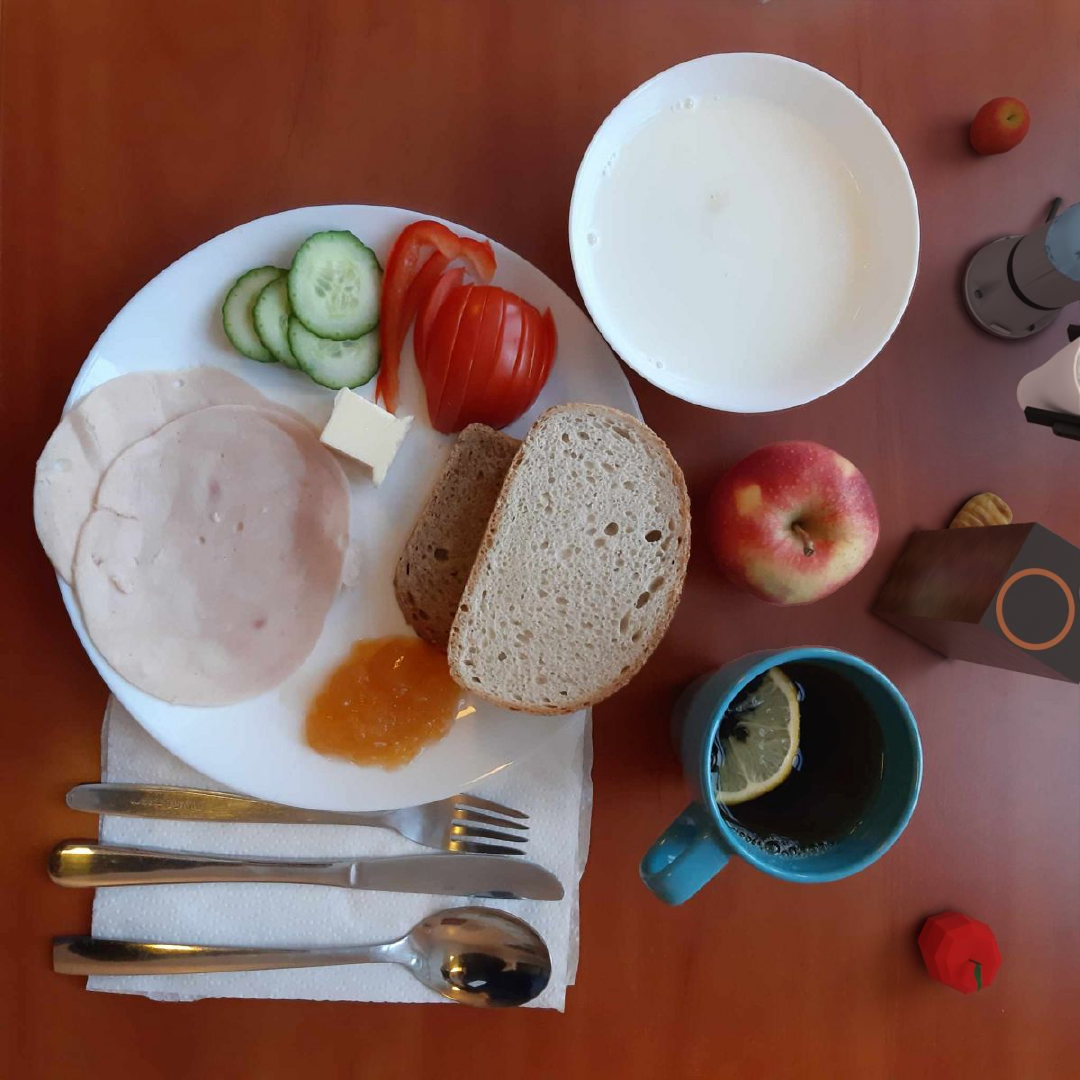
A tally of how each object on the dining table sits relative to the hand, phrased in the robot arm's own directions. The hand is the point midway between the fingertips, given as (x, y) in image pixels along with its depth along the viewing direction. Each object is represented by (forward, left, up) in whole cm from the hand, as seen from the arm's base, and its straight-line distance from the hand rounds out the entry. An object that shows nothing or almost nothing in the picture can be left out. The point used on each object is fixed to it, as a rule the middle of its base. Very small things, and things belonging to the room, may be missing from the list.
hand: (1048, 373), depth 100 cm
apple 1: (+66, +42, -29) cm, 84 cm away
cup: (0, +3, -6) cm, 6 cm away
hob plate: (+23, +15, -1) cm, 27 cm away
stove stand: (+23, +15, -29) cm, 40 cm away
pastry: (+10, +15, -29) cm, 34 cm away
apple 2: (-42, -13, -29) cm, 53 cm away
